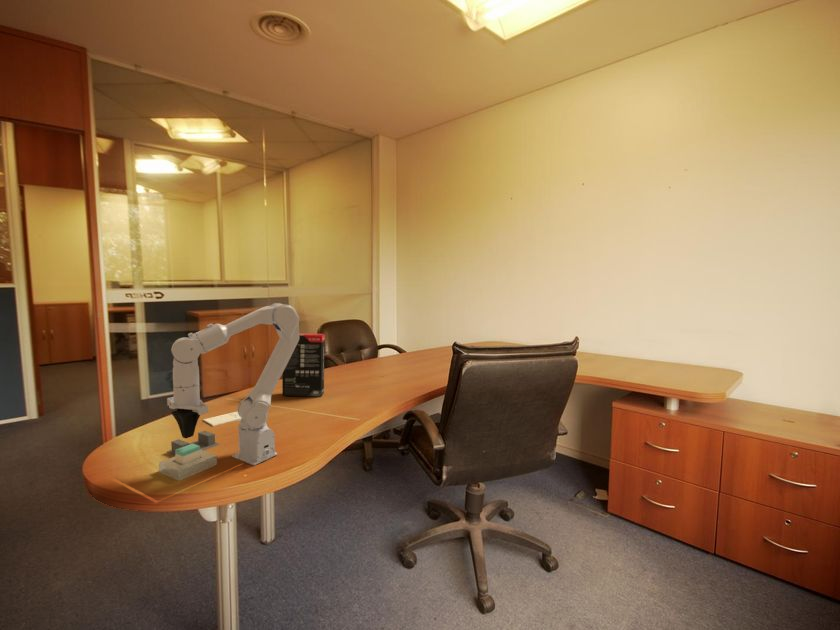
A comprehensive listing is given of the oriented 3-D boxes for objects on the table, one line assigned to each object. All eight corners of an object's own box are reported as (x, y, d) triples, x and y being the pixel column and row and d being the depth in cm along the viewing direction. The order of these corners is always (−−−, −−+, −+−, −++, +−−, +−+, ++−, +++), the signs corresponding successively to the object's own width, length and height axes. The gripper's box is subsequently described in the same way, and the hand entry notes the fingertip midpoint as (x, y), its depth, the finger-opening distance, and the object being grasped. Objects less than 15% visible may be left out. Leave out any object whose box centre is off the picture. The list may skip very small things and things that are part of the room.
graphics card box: (325, 392, 173) (325, 332, 171) (322, 397, 166) (322, 334, 164) (286, 392, 172) (285, 332, 170) (281, 397, 165) (281, 334, 163)
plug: (200, 468, 101) (200, 446, 101) (183, 475, 97) (182, 452, 97) (193, 465, 103) (192, 443, 102) (175, 472, 99) (175, 449, 98)
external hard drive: (202, 423, 134) (238, 414, 144) (212, 429, 129) (248, 419, 139) (202, 419, 134) (238, 410, 144) (212, 424, 129) (248, 415, 139)
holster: (220, 445, 115) (220, 434, 115) (182, 459, 106) (182, 447, 105) (203, 440, 119) (203, 429, 119) (166, 453, 110) (165, 441, 109)
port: (217, 466, 103) (216, 455, 102) (178, 482, 94) (178, 470, 94) (197, 458, 107) (197, 448, 106) (159, 473, 98) (158, 462, 98)
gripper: (153, 384, 98) (155, 436, 100) (187, 393, 91) (189, 448, 93) (182, 378, 105) (183, 427, 106) (215, 386, 98) (216, 438, 99)
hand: (188, 436), depth 100 cm, fingers closed
